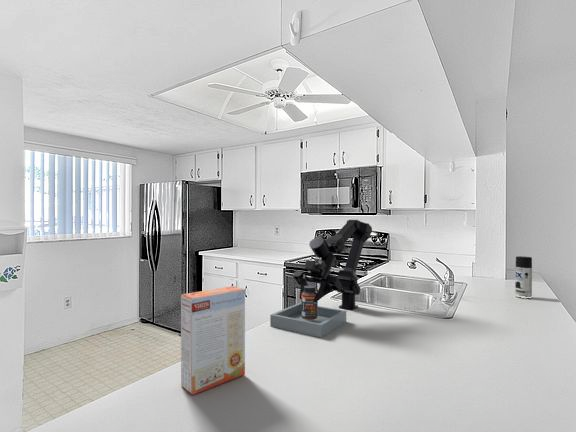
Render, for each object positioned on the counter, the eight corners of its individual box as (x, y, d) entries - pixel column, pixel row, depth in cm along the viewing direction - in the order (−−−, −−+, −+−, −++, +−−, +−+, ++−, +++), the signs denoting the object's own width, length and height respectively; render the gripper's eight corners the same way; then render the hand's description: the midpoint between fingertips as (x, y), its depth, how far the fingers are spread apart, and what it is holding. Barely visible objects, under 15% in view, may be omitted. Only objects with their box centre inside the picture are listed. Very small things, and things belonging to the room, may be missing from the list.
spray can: (511, 296, 167) (512, 256, 167) (524, 295, 167) (524, 256, 168) (522, 299, 160) (522, 257, 160) (535, 299, 161) (535, 257, 161)
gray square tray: (299, 312, 133) (299, 302, 133) (346, 321, 123) (346, 310, 123) (270, 326, 117) (270, 314, 117) (321, 337, 106) (321, 325, 106)
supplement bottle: (304, 321, 116) (304, 288, 116) (299, 316, 122) (299, 285, 122) (320, 319, 118) (320, 287, 118) (314, 314, 123) (314, 284, 123)
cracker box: (231, 367, 84) (232, 284, 84) (245, 375, 80) (246, 288, 80) (179, 385, 75) (180, 292, 75) (191, 396, 70) (192, 297, 70)
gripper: (295, 250, 129) (277, 283, 120) (338, 253, 117) (321, 290, 108) (307, 268, 135) (290, 300, 126) (348, 273, 123) (333, 309, 115)
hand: (307, 300), depth 119 cm, fingers closed on supplement bottle, 6 cm apart
